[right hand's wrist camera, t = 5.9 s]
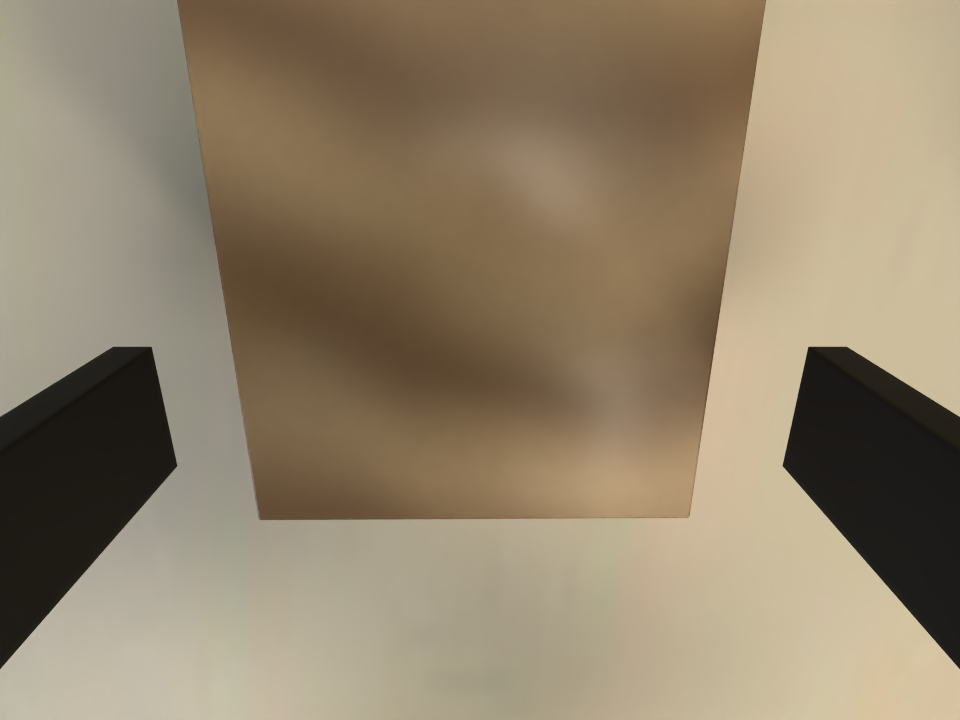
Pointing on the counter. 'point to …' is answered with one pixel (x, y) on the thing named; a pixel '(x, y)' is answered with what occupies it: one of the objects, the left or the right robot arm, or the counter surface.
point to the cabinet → (472, 245)
